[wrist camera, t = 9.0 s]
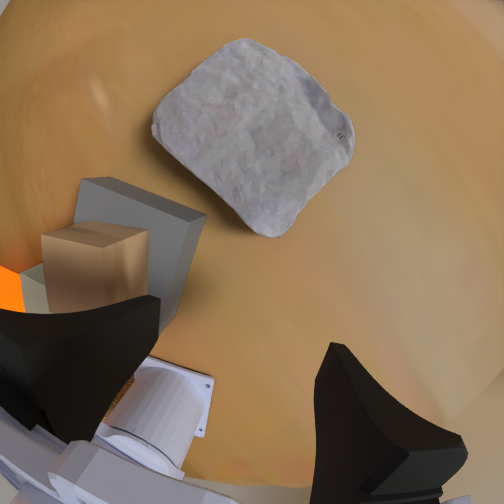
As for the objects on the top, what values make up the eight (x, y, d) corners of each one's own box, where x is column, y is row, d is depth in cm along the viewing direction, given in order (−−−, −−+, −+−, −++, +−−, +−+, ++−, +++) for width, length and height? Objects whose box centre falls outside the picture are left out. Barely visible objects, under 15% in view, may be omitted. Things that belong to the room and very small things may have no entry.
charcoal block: (176, 314, 23) (156, 338, 20) (93, 271, 24) (65, 286, 20) (208, 214, 21) (189, 222, 17) (112, 176, 21) (81, 178, 17)
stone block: (243, 51, 19) (152, 138, 20) (243, 17, 14) (128, 120, 15) (358, 149, 20) (270, 244, 21) (386, 133, 15) (277, 254, 16)
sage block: (90, 317, 25) (60, 340, 20) (57, 301, 25) (26, 320, 20) (89, 271, 23) (53, 289, 19) (54, 257, 24) (19, 272, 19)
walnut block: (147, 301, 19) (108, 335, 14) (92, 285, 19) (49, 311, 15) (149, 229, 17) (102, 248, 13) (90, 220, 18) (40, 234, 13)
